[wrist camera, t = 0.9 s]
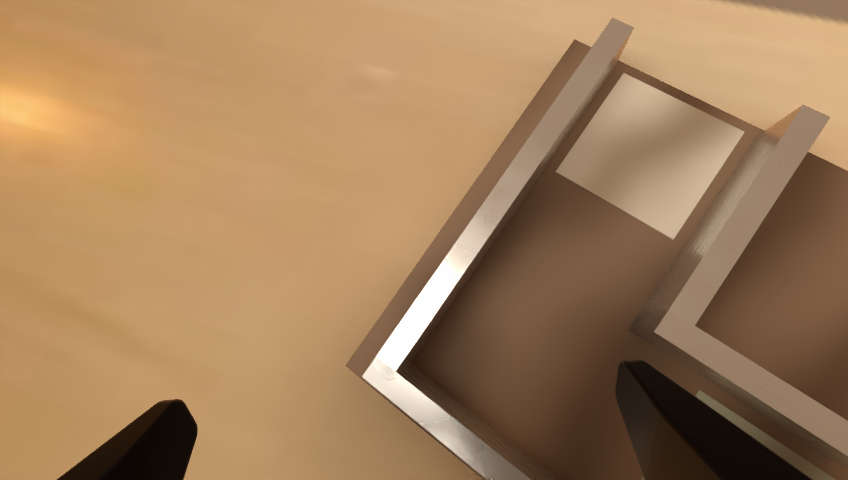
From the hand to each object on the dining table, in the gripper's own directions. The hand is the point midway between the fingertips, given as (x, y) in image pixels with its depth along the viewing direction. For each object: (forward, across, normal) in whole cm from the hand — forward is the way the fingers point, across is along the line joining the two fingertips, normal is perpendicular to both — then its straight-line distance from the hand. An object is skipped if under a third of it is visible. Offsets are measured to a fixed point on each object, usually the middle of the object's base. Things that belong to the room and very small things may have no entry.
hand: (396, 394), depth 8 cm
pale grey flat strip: (+9, -11, +7) cm, 16 cm away
